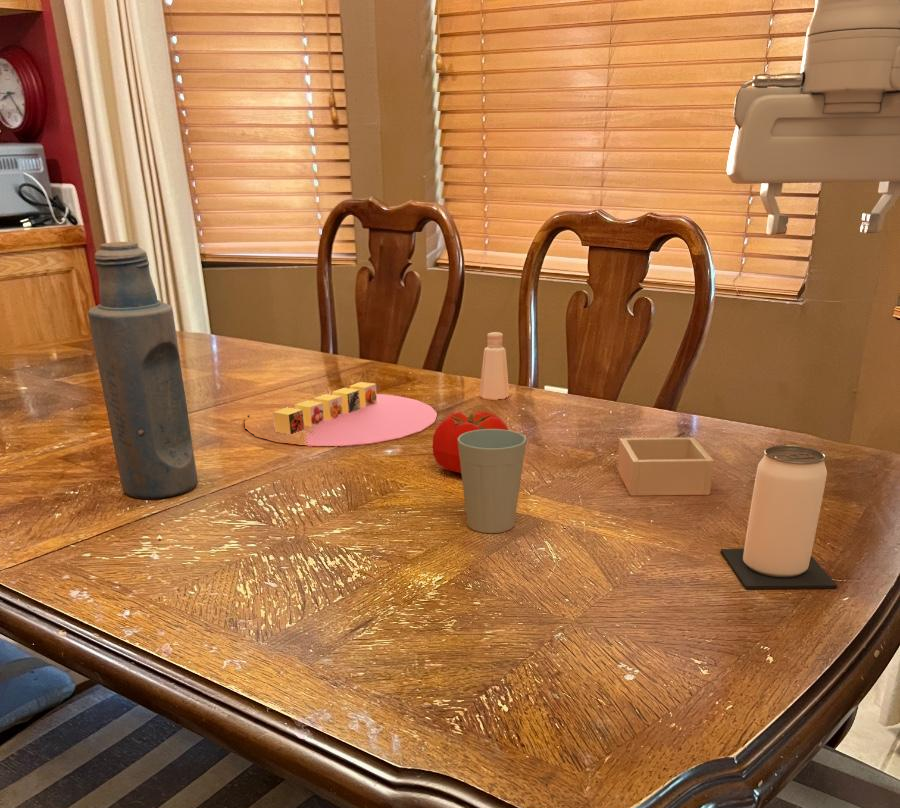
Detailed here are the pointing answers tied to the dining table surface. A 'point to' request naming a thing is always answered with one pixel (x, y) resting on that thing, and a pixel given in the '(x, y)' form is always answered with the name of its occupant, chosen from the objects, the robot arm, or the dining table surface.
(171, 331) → the bottle
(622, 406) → the dining table surface
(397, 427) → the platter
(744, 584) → the mat
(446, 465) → the tomato
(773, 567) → the can
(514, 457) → the cup
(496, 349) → the salt shaker
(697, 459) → the caddy
